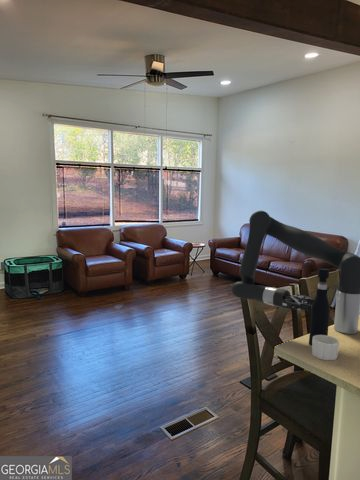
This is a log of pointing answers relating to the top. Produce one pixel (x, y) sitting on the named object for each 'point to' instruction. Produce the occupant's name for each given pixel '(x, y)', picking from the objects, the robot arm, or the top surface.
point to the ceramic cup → (325, 347)
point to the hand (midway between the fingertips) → (315, 306)
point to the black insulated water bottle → (320, 307)
